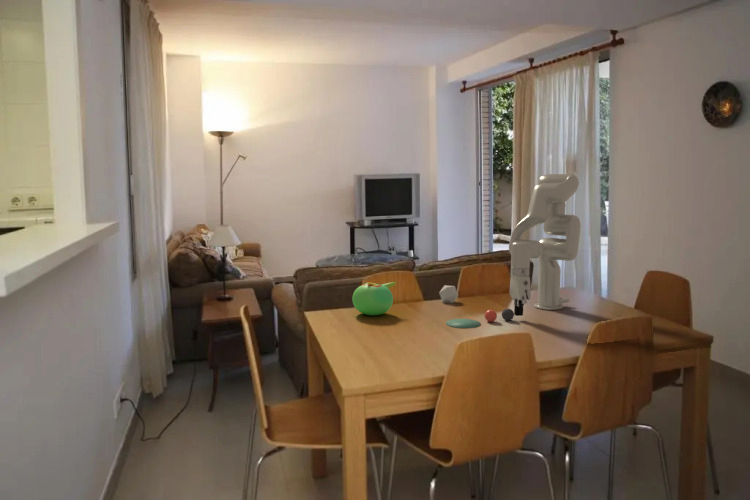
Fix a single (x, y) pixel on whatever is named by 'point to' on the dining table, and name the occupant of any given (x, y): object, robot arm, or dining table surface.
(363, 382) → the dining table surface
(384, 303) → the green apple
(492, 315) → the red ball
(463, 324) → the green mark
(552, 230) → the robot arm
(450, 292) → the die
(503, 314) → the black ball
